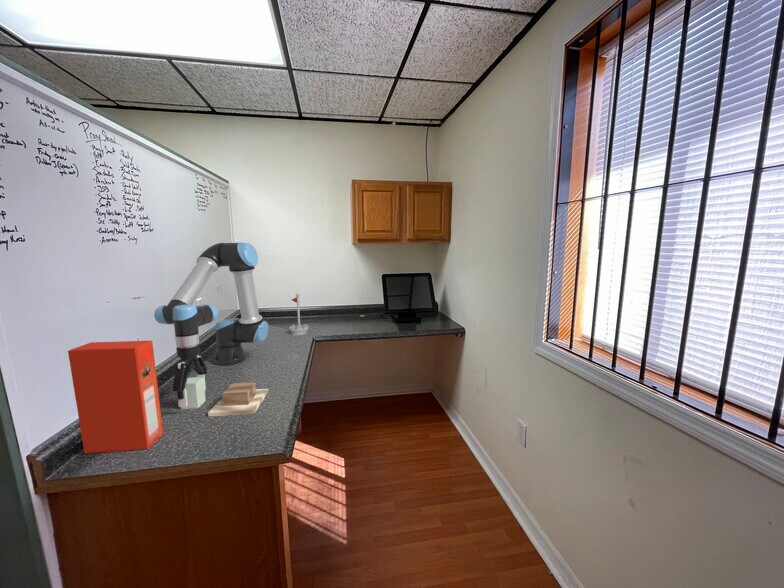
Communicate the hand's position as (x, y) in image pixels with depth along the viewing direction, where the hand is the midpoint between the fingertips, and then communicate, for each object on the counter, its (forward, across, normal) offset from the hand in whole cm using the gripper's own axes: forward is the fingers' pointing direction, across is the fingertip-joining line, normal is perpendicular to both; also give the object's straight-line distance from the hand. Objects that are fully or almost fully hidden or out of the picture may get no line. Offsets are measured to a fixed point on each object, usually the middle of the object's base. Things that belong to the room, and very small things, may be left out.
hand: (193, 397), depth 119 cm
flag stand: (+3, -105, +21) cm, 107 cm away
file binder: (+3, +24, -8) cm, 25 cm away
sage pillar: (+3, 0, 0) cm, 3 cm away
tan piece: (+3, +1, +18) cm, 18 cm away
